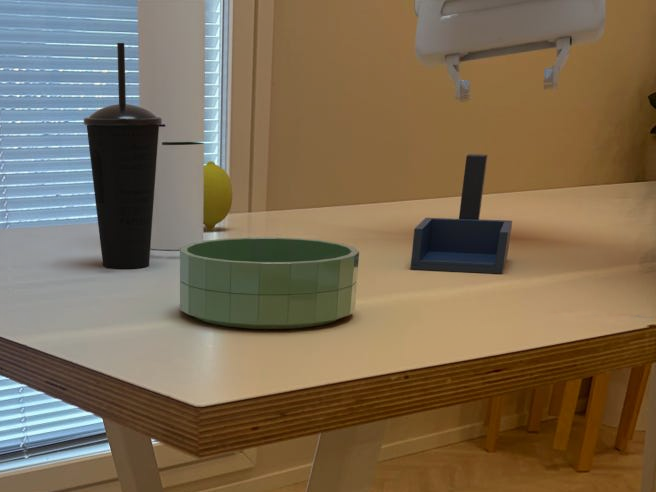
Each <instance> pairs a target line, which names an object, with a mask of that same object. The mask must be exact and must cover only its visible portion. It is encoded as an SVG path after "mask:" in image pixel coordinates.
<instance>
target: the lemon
mask: <svg viewBox="0 0 656 492" xmlns="http://www.w3.org/2000/svg"><path fill="white" fill-rule="evenodd" d="M232 204H233V186H232V181H231V179H230V175H229V174H228V173H227V172H226V170H225V169H224V168H222V167H221V166H219V165H217V164H216V163H215V162H214V161H212V160H209V161H208V162H207V163H206V164H204V205H203V226H204V227H205V228H206V229H207V230H211V231H212V230H213V229H214V228H215V227H216V225H218V224H219V223H221V222H223V221H224V220H225V219H226V218H227V216H228V215H229V213H230V210H231V209H232Z"/></svg>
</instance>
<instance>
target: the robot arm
mask: <svg viewBox="0 0 656 492" xmlns="http://www.w3.org/2000/svg"><path fill="white" fill-rule="evenodd" d="M413 6H414V8H413V9H414V15H415V16H416V18H417V22H416V30H415V39H414V53H415V57H416V59H417V62H419V64H420V65H421V66H422V67H423V68H432V67H440V66H445V67H446V72H447V74H448V76H449V78H450V79H451V82H453V85H454V86H455V88H454V89H455V90H454V91H455V93H454V96H455V97H454V98H455V102H456V103H464V102H470V100H471V94H470V93H471V84H470V79H464V80H462V78H461V77H460V75H459V72H461V67H462V66H461V65H462V63H466V62H467V63H468V62H472V61H473V62H474V61H479V60H487V59H493V58H498V57H507V56H513V55H519V54H527V53H533V52H540V51H546V50H552V49H554V50H555V53H556V54H555V57H556V59H555V60H554V63H553V65H552V67H549V68H544V69H543V91H551V90H552V91H553V90H558V87H559V74H560V73H561V71H562V70H563V68H564V66H565V64H566V63H567V61H568V59H569V57H570V52H571V50H570V49H571V47H574V46H579V45H581V46H582V45H587V44H593V43H596V42H598V41H599V40H600V39H601V38H602V37H603V35H604V33H605V31H606V22H607V21H606V20H607V18H606V16H607V7H606V0H414V5H413Z"/></svg>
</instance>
